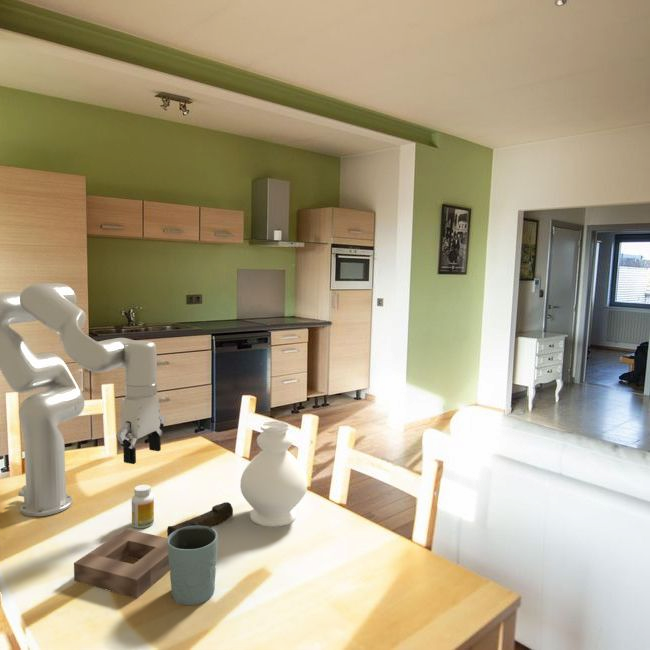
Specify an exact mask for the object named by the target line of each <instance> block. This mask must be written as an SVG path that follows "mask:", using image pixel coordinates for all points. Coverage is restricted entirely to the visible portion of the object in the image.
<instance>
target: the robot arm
mask: <svg viewBox="0 0 650 650" xmlns="http://www.w3.org/2000/svg"><path fill="white" fill-rule="evenodd" d="M86 320H87V315H86V313H85V311H84V309H81V308H80V307H78V306H77V295H76V292H75V291H74V290H73V289H72V288H71V286H69V285H68V284H65V283H61V282H50V283H49V282H48V283H47V282H46V283H35V284H31V285H29V286H26V287H25V288H24V289H23V290H22V291H15V292H14V291H12V292H10V291H9V292H0V371H1V374H2V375H3V377H4V379H5V381H6V382H7V384H8V385H9V387H10V389H12V390H13V392H15V393H19V394H25V393H30V392H33V391H37V390H41V389H45V390H44V391H40V392H38V393H35V394H32V395H30V396H28V397H26V398H25V399H24V400H23V401H22V402H21V403H20V406H19V409H18V419H19V422H20V426H21V430H22V436H23V445H24V465H25V468H24V469H25V485H24V486H23V487H22V488H21V490H19V491H18V492H17V495H18V496H19V497H23V500H24V501H23V502H22V503H21V504H20V507H19V508H20V514H23V515H24V516H27V517H45V516H50V515H51V516H52V515H54V514H55V515H56V514H58V513H60V512H63V511H65V510H66V509H67V510H68V509H69V508H70V507H71V506H72V504H73V496H71V495H70V494H68V493H67V488H66V458H65V457H66V455H65V453H66V452H65V451H66V450H65V449H66V448H65V440H64V436H63V434H62V432H61V431H60V430H59V427H58V425H60V424H62V423H65V422H66V421H70V420H72V419H74V418H77V417H78V416H79V415H81V414H82V412H83V410H84V408H85V398H84V395H83V392H82V390H81V389H80V387H79V385H78V383H77V382H76V380H75V378H74V376H73V374H72V372H71V370H70V369H69V367H68V366H67V364H66V362H65V361H64V359H63V358H61V356H59V355H58V354H55V353H52V352H42V353H37V354H35V353H34V352H33V351H32V349H30V347H29V345H28V343H27V341H26V340H25V338H24V337H23V336H22V335H21V334H20V333H19V332H17V331H16V330H14V329H13V328H11V327H10V326H9V325H12V324H22V323H31V322H35V321H36V322H37V321H39V322H40V323H42V324H43V325H44V326H45V327H47V328H48V329H49V330H51V331H53V332H54V333H55V334H57V335H58V337H59V340H60V343H61V346H62V348H63V350H64V353H65V354H66V355H67V356H68V357H69V358H70V359H71V360H73V362H75V363H77V364H78V365H79V366H81V367H82V368H84V369H85V370H88V371H89V372H91V373H97V374H98V373H99V374H101V373H104V372H105V373H106V372H109V371H112V370H117V369H121V368H124V379H125V380H124V382H125V383H124V385H125V388H124V389H125V390H124V391H125V397H124V398H123V401H122V406H121V416H120V429H119V430H118V432H117V433H116V434H115V435H116V438H117V441H118V444H119V445H120V446H121V448H122V449H123V463H125V464H129V465H130V464H131V465H135V464H136V463H137V455H136V453H137V451H136V447H135V445H136V443H137V440H138V439H141V438H144V437H145V436H148V450H149V451H153V452H160V451H161V450H162V449H161V448H162V447H161V445H162V443H161V440H162V439H161V437H162V434H163V429H164V426H165V424H164V423H165V420H166V415H163V414H162V413H161V408H160V406H161V405H160V400H159V395H158V370H157V369H158V367H157V366H158V363H157V345H156V343H155V342H153V341H151V340H134V339H131V338H126V337H117V338H111V339H110V338H109V339H105V340H100V341H97V340H95V339H93V338H92V337H90V336H89V335H88V334H86V333H85V332H83V330H82V329H83V328H84V326H85V324H86V322H87V321H86ZM130 439H131V440H130ZM129 440H130V441H129Z"/></svg>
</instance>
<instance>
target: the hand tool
mask: <svg viewBox="0 0 650 650" xmlns="http://www.w3.org/2000/svg"><path fill="white" fill-rule="evenodd" d="M233 514H234V508H233V505H232V504H231V503H230V502H228V501H227V502H226V501H225V502H222V503H219V504H216V505H214V506H212V508H211V510H209V511H207V512H204V513H203V514H198V515H197V516H195V517H192V518H190V519H188V520H187V519H186V520H185V521H181V522H180V523H177V524H175V525H169V526H167V528H166V529H167V530H166V531H167V532H166V533H167V535H166V537H168V536H169V535H170V534H171V533H172V532H174V531H176V530H178V529H181V528H184V527H188V526H206V527H210V526H213V525H221V524H223V523H225V522H226V521H227V520H229V519H230V518H231V517H233Z"/></svg>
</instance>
